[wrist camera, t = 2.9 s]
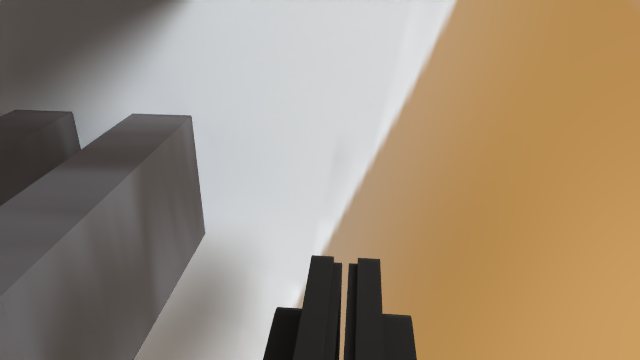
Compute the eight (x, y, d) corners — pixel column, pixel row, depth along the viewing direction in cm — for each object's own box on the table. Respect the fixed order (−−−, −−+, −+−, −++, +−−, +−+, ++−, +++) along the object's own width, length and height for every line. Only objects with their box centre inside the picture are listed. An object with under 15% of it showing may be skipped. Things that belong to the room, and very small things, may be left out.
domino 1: (132, 113, 17) (-118, 288, 8) (191, 115, 17) (0, 297, 8) (152, 230, 20) (-29, 469, 11) (205, 233, 19) (66, 478, 10)
